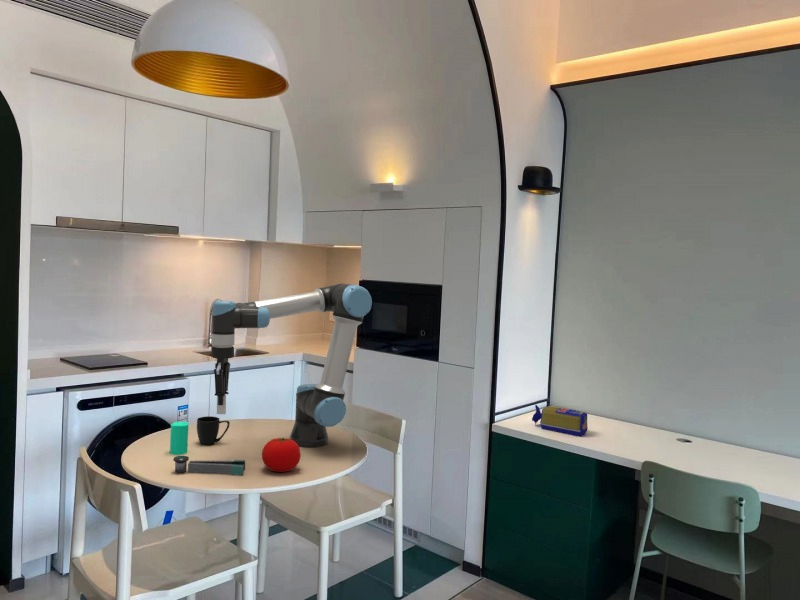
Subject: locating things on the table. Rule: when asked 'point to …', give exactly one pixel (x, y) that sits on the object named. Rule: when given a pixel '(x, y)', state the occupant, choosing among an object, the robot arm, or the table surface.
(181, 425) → the candle
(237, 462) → the bar
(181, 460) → the tongs fixed
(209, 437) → the mug
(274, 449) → the tomato
